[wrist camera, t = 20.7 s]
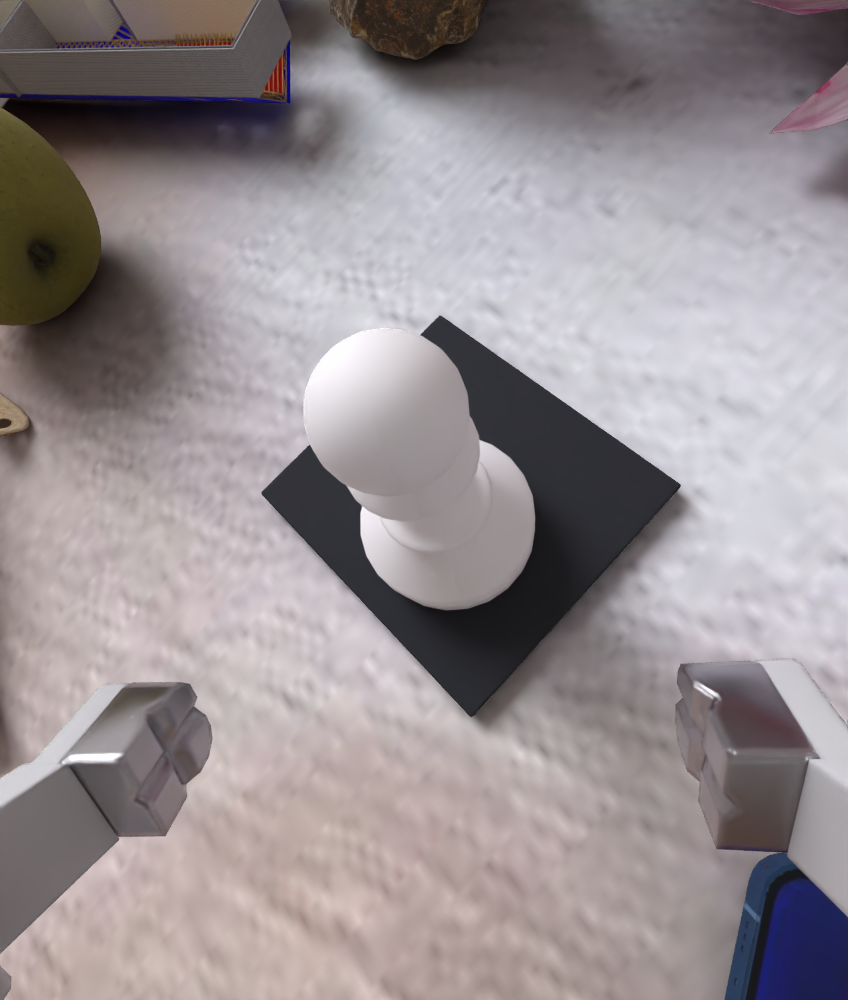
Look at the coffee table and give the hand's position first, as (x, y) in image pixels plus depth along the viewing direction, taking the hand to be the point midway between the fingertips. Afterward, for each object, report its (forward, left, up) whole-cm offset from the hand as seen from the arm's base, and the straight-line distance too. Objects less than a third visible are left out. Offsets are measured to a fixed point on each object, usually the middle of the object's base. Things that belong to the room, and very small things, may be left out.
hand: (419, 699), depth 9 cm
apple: (+21, 0, -4) cm, 22 cm away
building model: (+34, -12, -3) cm, 36 cm away
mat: (+4, -4, -7) cm, 9 cm away
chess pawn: (+3, -3, -6) cm, 8 cm away
